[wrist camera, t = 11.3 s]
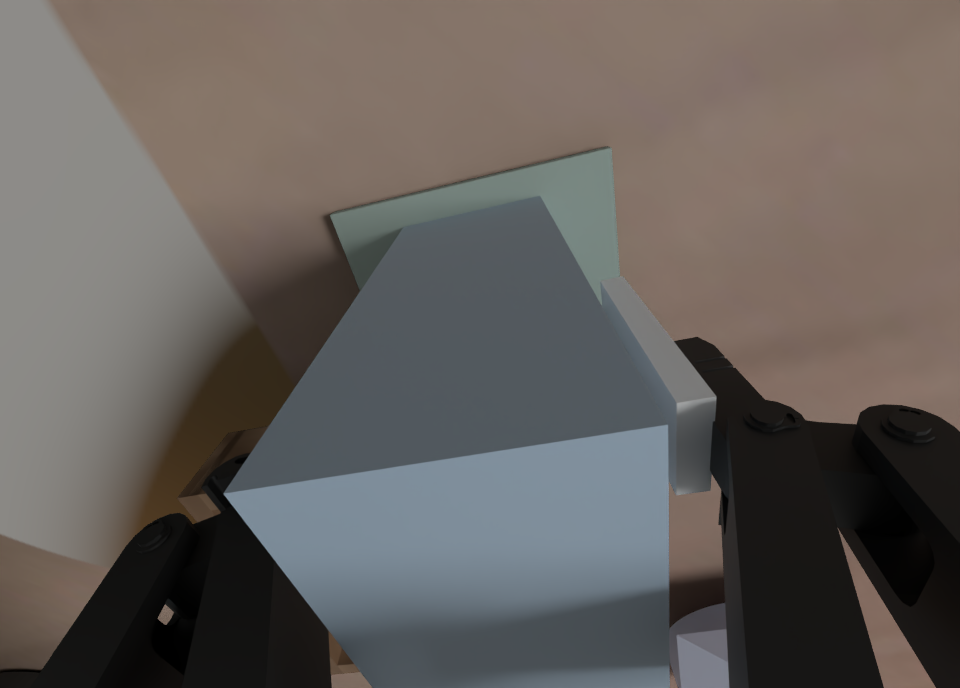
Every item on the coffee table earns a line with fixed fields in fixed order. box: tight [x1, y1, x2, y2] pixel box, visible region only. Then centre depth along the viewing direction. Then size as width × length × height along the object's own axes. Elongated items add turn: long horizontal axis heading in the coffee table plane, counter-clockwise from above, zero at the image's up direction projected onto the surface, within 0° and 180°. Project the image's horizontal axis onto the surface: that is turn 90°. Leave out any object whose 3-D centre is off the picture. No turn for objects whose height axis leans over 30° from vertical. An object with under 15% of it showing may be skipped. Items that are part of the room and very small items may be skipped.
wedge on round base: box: [669, 603, 729, 688], centre depth 26 cm, size 9×7×13 cm
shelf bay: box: [177, 426, 360, 675], centre depth 22 cm, size 18×16×4 cm
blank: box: [223, 196, 670, 688], centre depth 12 cm, size 5×8×12 cm, turn 13°
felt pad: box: [330, 146, 620, 305], centre depth 17 cm, size 10×10×1 cm
